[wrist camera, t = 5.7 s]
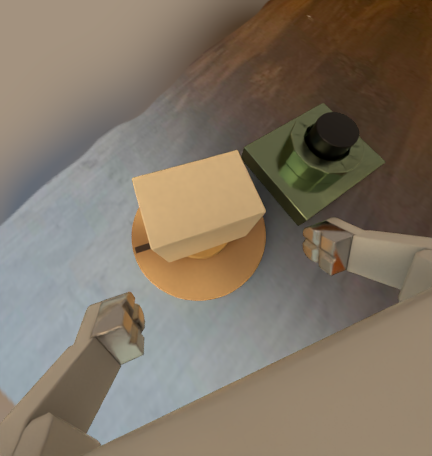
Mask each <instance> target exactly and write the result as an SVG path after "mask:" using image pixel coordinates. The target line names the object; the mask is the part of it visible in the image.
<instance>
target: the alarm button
mask: <svg viewBox="0 0 432 456" xmlns="http://www.w3.org/2000/svg"><path fill="white" fill-rule="evenodd" d="M358 138H359V130H358V127H357V125H356V124H355V122H354V121H353V120H352V119H350V118H349V117H348V116H346V115H344V114H341V113H337V112H328V113H325V114H323V115H321V116H320V117H319V118H318V119H317V121H316V122H315V124H314V125H313V127H312V128H311V130H310V131H309V133H308V134H307V137H306V144H307V147H308V149H309V150H310V151H311V152H312V153H313V154H314V155H315V156H316V157H319V158H321V159H323V160H328V161H331V160H336V159H338V158H340V157H341V156H342V155H344V154H345V153H346V152H347V151H348V150H349V149H350V148H351V147H352V146H353V145H354V144H355V143H356V142H357V140H358Z"/></svg>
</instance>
